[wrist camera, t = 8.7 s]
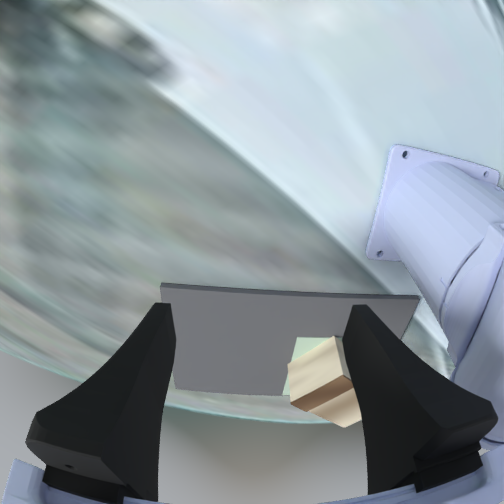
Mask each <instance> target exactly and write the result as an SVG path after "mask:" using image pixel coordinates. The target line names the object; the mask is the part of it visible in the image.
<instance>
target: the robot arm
mask: <svg viewBox="0 0 504 504" xmlns="http://www.w3.org/2000/svg"><path fill="white" fill-rule="evenodd" d="M404 151H407V155H406V156H405V157H402V154H403V152H404ZM485 172H486V174H485V175H484V173H485ZM498 180H499V172H498V171H496V170H495V169H492V168H489V167H486V166H482V165H479V164H476V163H472V162H469V161H465V160H462V159H458V158H454V157H451V156H447V155H443V154H439V153H435V152H431V151H427V150H422V149H418V148H414V147H409V146H404V145H400V144H395V145H393V146H392V147H391V148H390V151H389V156H388V161H387V166H386V171H385V175H384V180H383V184H382V188H381V193H380V197H379V201H378V205H377V209H376V213H375V217H374V221H373V225H372V229H371V233H370V236H369V240H368V244H367V247H366V252H365V253H366V255H367V257H368V258H369V259H373V260H389V261H402V262H403V264H404V265H405V267H406V268H407V270H408V271H409V273H410V275H411V276H412V278H413V280H414V281H415V283H416V284H417V286H418V288H419V289H420V291H421V293H422V294H423V296H424V298H425V300H426V301H427V303H428V305H429V306H430V308H431V310H432V312H433V313H434V315H435V317H436V319H437V321H438V322H439V324H440V326H441V328H442V329H443V332H444V333H445V335H446V337H447V339H448V341H449V344H448V348H447V351H448V353H449V355H450V357H451V359H452V361H453V363H454V365H455V367H456V368H455V369H454V371H453V372H452V374H451V376H450V379H449V380H448V379H447V378H445V377H444V376H443V375H441V374H440V373H438V372H437V371H435V370H434V369H433V368H431V367H430V366H429V365H428V364H426V363H425V362H424V361H423V360H421V359H420V358H419V357H418V356H417V355H416V354H415V353H413V352H412V351H411V350H410V349H409V348H408V347H407V346H406V345H405V344H404V343H403V342H402V341H401V340H400V339H399V338H398V337H397V336H396V335H395V334H394V333H393V332H392V331H391V330H390V329H389V328H388V327H387V326H386V325H385V323H384V322H383V321H382V320H381V319H380V318H379V317H378V316H377V315H376V314H375V313H374V312H373V311H372V309H371V308H370V307H369V306H368V305H367V304H359V305H352V309H351V312H350V315H349V319H348V322H347V325H346V328H345V332H344V335H343V338H342V343H343V349H344V355H345V361H346V364H347V368H348V371H349V374H350V377H351V381H352V384H353V387H354V390H355V394H356V397H357V400H358V404H359V408H360V412H361V417H362V423H363V430H364V436H365V446H366V456H367V472H368V495H367V496H362V497H357V498H351V499H346V500H340V501H333V502H327V503H318V504H498V503H500V502H502V501H503V500H504V190H503V189H501V188H500V187H498V186H497V184H498ZM379 251H382V252H381V253H380V254H377V252H379ZM176 340H177V339H176V333H175V327H174V321H173V315H172V309H171V303H155V304H154V305H153V306H152V307H151V309H150V310H149V312H148V313H147V314H146V316H145V317H144V318H143V320H142V321H141V322H140V324H139V325H138V326H137V328H136V329H135V330H134V331H133V333H132V334H131V335H130V336H129V338H128V339H127V340H126V341H125V343H124V344H123V345H122V346H121V347H120V348H119V349H118V350H117V352H116V353H115V354H114V355H113V356H112V357H111V358H110V359H109V360H108V361H107V362H106V363H105V364H104V365H103V366H102V367H101V368H100V369H99V370H98V371H97V372H96V373H94V374H93V375H92V376H91V377H90V378H89V379H87V380H86V381H85V382H84V383H82V384H81V385H80V386H79V387H77V388H76V389H75V390H73V391H72V392H70V393H69V394H67V395H66V396H64V397H63V398H61V399H60V400H58V401H56V402H55V403H53V404H51V405H49V406H47V407H46V408H44V409H42V410H40V411H38V412H37V413H36V414H35V417H34V419H33V421H32V424H31V427H30V430H29V432H28V435H27V438H26V441H25V443H26V445H27V447H28V448H29V449H30V450H31V451H32V452H33V453H34V454H35V455H36V456H37V457H38V458H40V459H41V460H42V461H43V462H44V463H45V464H46V469H45V471H44V470H42V469H40V468H38V467H36V466H33V465H31V464H28V463H25V462H23V461H21V460H18V459H14V461H13V464H12V467H11V470H10V473H9V477H8V480H7V484H6V487H5V491H4V495H3V499H2V503H1V504H167V503H160V502H158V460H159V444H160V431H161V421H162V413H163V408H164V403H165V399H166V394H167V390H168V386H169V381H170V377H171V373H172V368H173V364H174V358H175V349H176ZM481 448H483V449H486V450H490V451H488V452H486V453H484V454H483V455H481V456H480V455H479V453H478V451H479V450H480V449H481Z"/></svg>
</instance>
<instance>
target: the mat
mask: <svg viewBox="0 0 504 504" xmlns="http://www.w3.org/2000/svg"><path fill="white" fill-rule="evenodd" d="M160 292H161V299H162V303H171V309H172V315H173V321H174V327H175V333H176V339H177V340H176V349H175V358H174V364H173V368H172V371H173V376H174V382H175V387H176V389H181V390H191V391H201V392H212V393H226V394H243V395H269V396H290V388H289V376H288V365H287V364H289V363H290V362H292V361H294V360H295V359H297V358H299V357H300V356H302V355H304V354H305V353H307V352H309V351H310V350H312V349H313V348H315V347H317V346H318V345H320V344H321V343H323V342H325V341H326V340H328V339H329V338H331V337H332V336H335V337H337V338H338V339H339V340H340V341H342V338H343V335H344V332H345V328H346V325H347V322H348V319H349V315H350V312H351V309H352V305H359V304H367V305H368V306H369V307H370V308H371V309H372V311H373V312H374V313H375V314H376V315H377V316H378V317H379V318H380V319H381V320H382V321H383V322H384V323H385V325H386V326H387V327H388V328H389V329H390V330H391V331H392V332H393V333H394V334H395V335H396V336H397V337H398V338H399V339H401V337H402V335H403V333H404V331H405V329H406V327H407V325H408V323H409V321H410V319H411V317H412V315H413V313H414V311H415V308H416V306H417V304H418V302H419V300H420V299H419V298H418V296H407V295H365V294H335V293H311V292H290V291H271V290H253V289H237V288H222V287H208V286H194V285H182V284H169V283H161V286H160Z"/></svg>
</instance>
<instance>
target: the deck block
mask: <svg viewBox="0 0 504 504" xmlns="http://www.w3.org/2000/svg"><path fill="white" fill-rule="evenodd" d="M287 365H288V376H289V388H290V399H291V405H293V406H295V407H297V408H299V409H301V410H303V411H306V412H307V411H309V412H311V413H314V414H316V415H318V416H320V417H322V418H324V419H326V420H328V421H330V422H333V423H335V424H337V425H339V426H342V427H344V428H345V427H347V426H349V425H351V424H353V423H355V422H357V421H359V420H361V419H362V417H361V412H360V408H359V404H358V400H357V397H356V394H355V390H354V387H353V384H352V381H351V377H350V374H349V371H348V368H347V364H346V361H345V355H344V349H343V343H342V341H340V340H339V339H338V338H337V337H335V336H332V337H331V338H329V339H328V340H326V341H325V342H323V343H321V344H320V345H318V346H317V347H315V348H313V349H312V350H310V351H309V352H307V353H305V354H304V355H302V356H300V357H299V358H297V359H295V360H294V361H292V362H290V363H289V364H287Z"/></svg>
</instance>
